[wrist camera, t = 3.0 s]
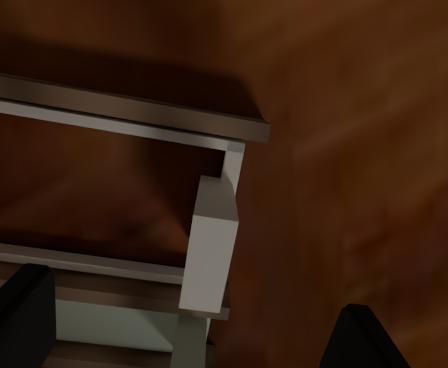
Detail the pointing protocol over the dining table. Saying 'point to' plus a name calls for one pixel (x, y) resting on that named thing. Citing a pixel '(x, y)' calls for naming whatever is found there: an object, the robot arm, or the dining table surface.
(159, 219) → the dining table surface
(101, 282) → the lane frame
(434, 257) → the dining table surface
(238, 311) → the dining table surface
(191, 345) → the strip
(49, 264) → the grey piece
